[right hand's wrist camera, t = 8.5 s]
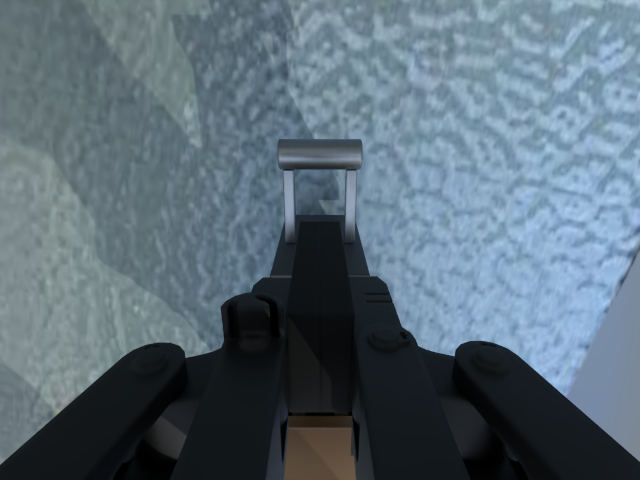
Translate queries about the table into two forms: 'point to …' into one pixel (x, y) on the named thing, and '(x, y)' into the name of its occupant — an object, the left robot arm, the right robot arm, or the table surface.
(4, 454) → the table surface
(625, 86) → the table surface
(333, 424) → the tall brown box
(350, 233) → the drawer
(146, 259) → the table surface
